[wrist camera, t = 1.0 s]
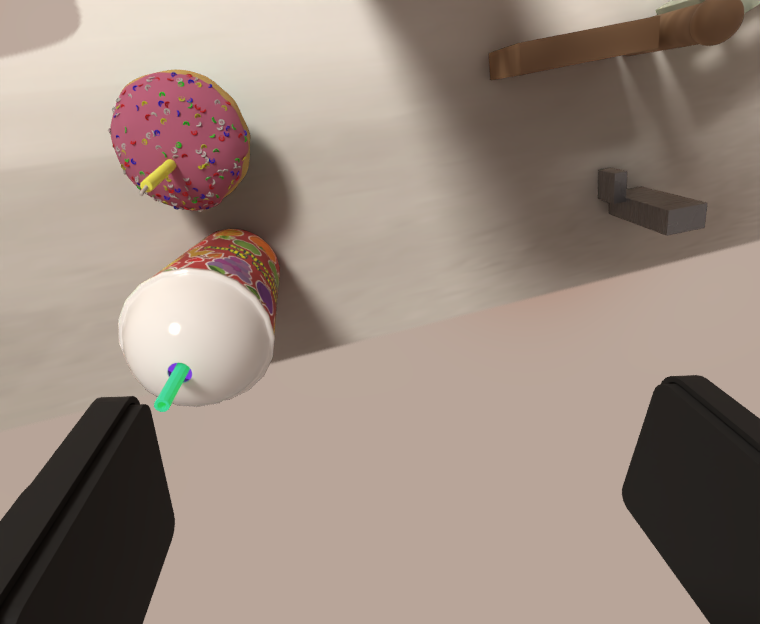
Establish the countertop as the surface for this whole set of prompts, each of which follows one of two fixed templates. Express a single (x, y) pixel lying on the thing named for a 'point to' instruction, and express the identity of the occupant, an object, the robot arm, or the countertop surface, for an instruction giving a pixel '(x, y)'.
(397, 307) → the countertop surface
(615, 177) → the latch post
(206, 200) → the cupcake
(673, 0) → the pale green flat block
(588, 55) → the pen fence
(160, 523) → the robot arm
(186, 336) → the smoothie
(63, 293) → the countertop surface
